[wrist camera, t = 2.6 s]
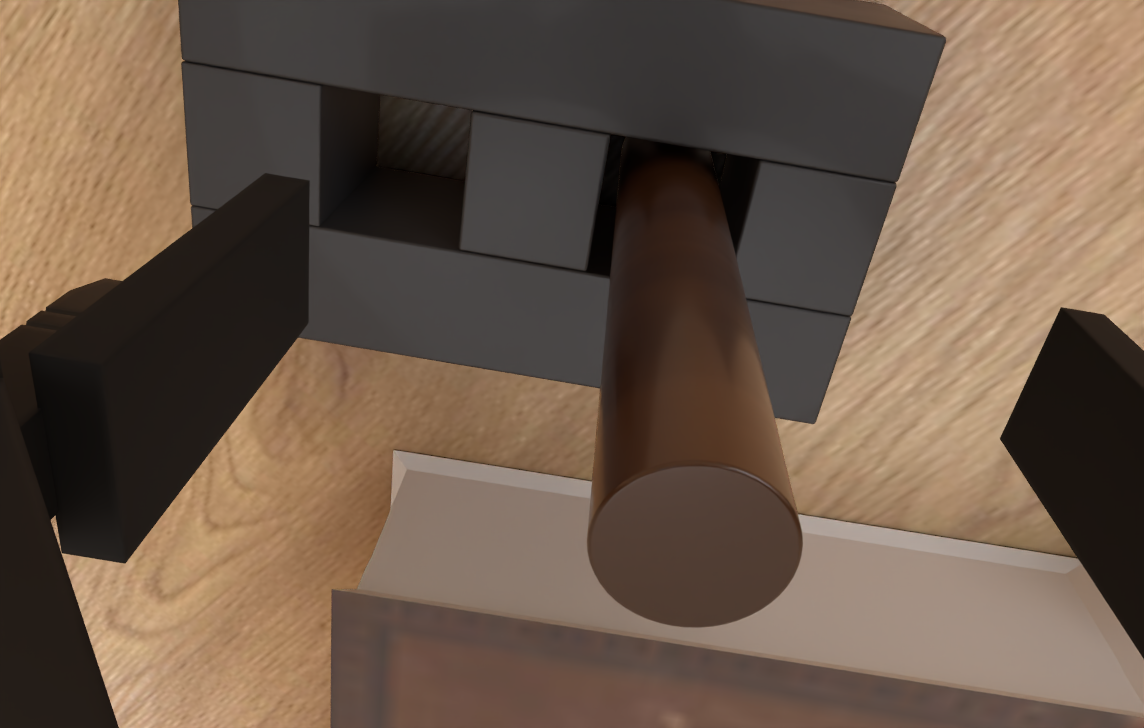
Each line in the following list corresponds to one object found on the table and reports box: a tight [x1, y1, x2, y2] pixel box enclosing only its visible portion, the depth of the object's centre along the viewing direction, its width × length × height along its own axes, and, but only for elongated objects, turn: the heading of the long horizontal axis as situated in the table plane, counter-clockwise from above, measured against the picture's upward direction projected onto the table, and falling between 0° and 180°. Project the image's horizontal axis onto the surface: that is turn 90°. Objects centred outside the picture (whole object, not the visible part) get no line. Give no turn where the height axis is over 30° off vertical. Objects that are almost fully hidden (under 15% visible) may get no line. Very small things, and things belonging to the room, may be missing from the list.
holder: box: [178, 0, 946, 424], centre depth 22 cm, size 9×15×5 cm, turn 81°
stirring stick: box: [587, 137, 803, 628], centre depth 17 cm, size 2×2×16 cm
